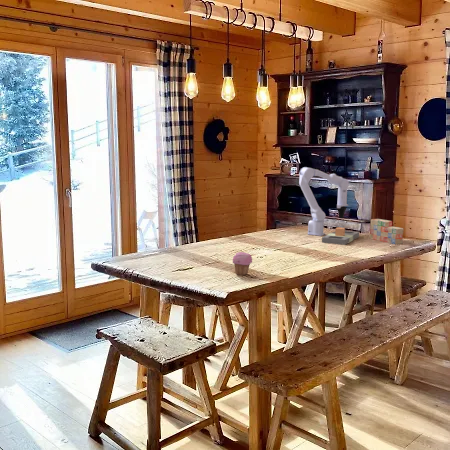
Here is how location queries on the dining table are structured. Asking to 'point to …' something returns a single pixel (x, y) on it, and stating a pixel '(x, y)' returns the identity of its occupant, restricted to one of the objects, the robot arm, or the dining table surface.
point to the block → (340, 231)
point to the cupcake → (242, 263)
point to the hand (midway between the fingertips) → (341, 218)
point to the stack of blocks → (385, 231)
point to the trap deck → (340, 238)
